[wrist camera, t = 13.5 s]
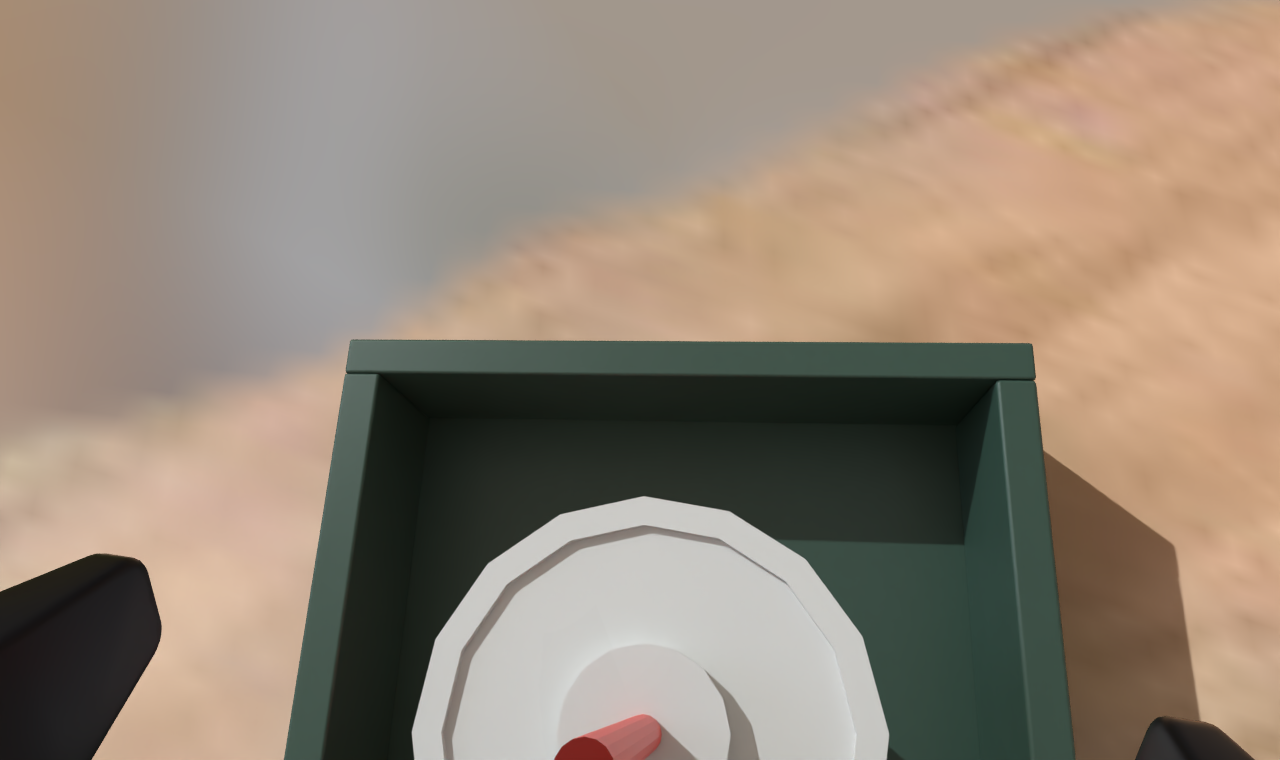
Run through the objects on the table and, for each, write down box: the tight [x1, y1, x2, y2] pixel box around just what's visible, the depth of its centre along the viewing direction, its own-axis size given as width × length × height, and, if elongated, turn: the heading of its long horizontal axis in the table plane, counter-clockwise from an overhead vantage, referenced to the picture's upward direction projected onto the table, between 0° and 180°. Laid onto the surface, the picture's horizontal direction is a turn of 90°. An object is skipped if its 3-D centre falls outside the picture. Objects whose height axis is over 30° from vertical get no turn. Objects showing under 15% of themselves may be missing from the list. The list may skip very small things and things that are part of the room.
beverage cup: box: [412, 496, 889, 760], centre depth 13 cm, size 6×6×14 cm
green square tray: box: [284, 340, 1076, 760], centre depth 18 cm, size 15×15×4 cm
